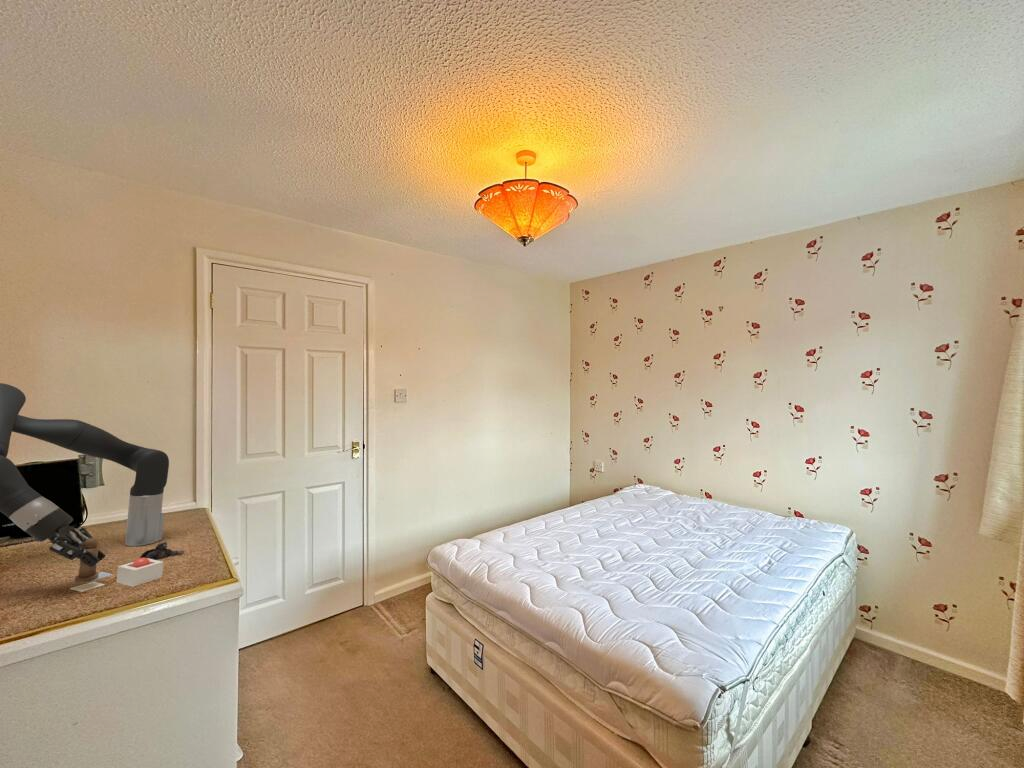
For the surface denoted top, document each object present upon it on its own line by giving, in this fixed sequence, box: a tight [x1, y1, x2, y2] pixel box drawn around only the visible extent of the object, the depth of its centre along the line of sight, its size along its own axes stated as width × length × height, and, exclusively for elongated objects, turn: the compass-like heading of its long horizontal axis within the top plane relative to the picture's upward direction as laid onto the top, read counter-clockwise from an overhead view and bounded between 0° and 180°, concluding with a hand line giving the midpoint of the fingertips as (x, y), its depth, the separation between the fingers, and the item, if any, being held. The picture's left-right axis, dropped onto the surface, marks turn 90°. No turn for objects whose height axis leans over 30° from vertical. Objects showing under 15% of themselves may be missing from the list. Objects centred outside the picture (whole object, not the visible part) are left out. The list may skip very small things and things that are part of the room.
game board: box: [69, 571, 114, 593], centre depth 115 cm, size 14×20×1 cm
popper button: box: [132, 557, 151, 568], centre depth 117 cm, size 4×4×5 cm
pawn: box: [74, 537, 100, 583], centre depth 112 cm, size 4×4×11 cm
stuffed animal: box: [139, 541, 186, 560], centre depth 134 cm, size 12×10×12 cm
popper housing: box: [116, 558, 164, 588], centre depth 117 cm, size 7×7×4 cm
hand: (98, 561), depth 112 cm, fingers closed on pawn, 3 cm apart
